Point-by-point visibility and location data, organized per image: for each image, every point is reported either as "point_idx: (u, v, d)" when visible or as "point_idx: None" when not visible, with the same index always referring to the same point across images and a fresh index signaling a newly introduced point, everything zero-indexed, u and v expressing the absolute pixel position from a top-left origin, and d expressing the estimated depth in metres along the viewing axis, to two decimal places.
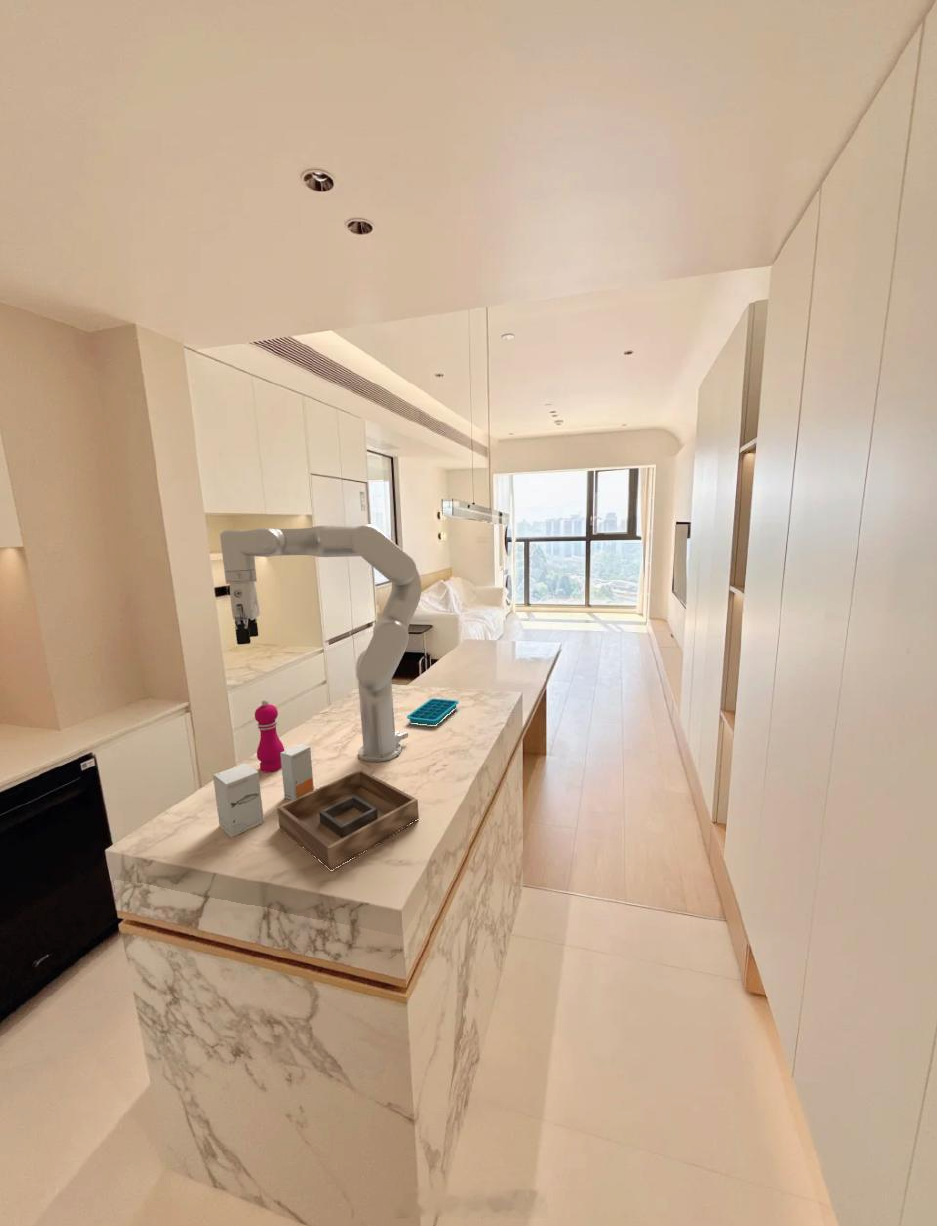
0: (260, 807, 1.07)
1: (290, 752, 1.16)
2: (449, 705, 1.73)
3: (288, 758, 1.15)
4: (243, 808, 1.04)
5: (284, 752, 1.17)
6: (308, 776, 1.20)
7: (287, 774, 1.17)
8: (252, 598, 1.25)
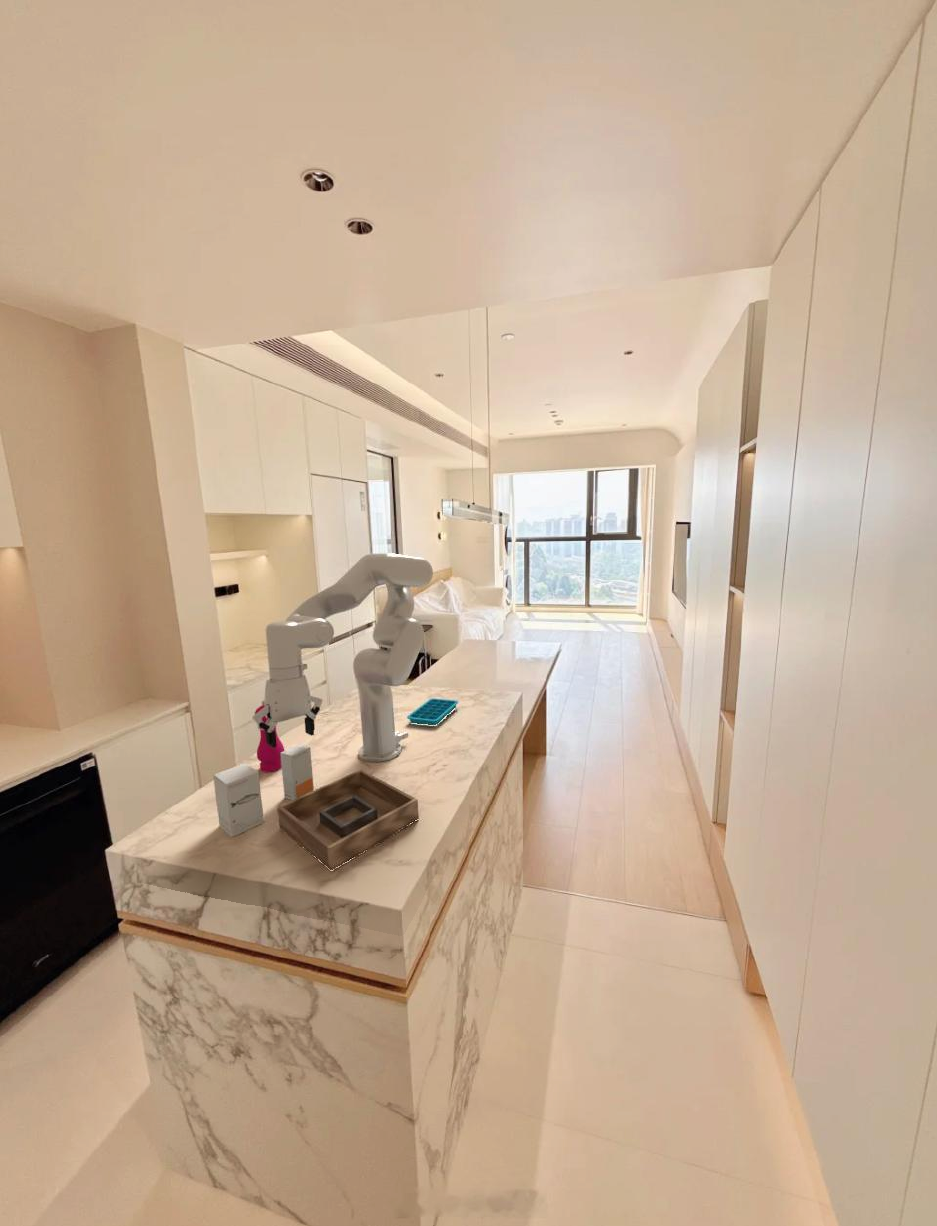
0: (260, 807, 1.07)
1: (290, 752, 1.16)
2: (449, 705, 1.73)
3: (288, 758, 1.15)
4: (243, 808, 1.04)
5: (284, 752, 1.17)
6: (308, 776, 1.20)
7: (287, 774, 1.17)
8: None
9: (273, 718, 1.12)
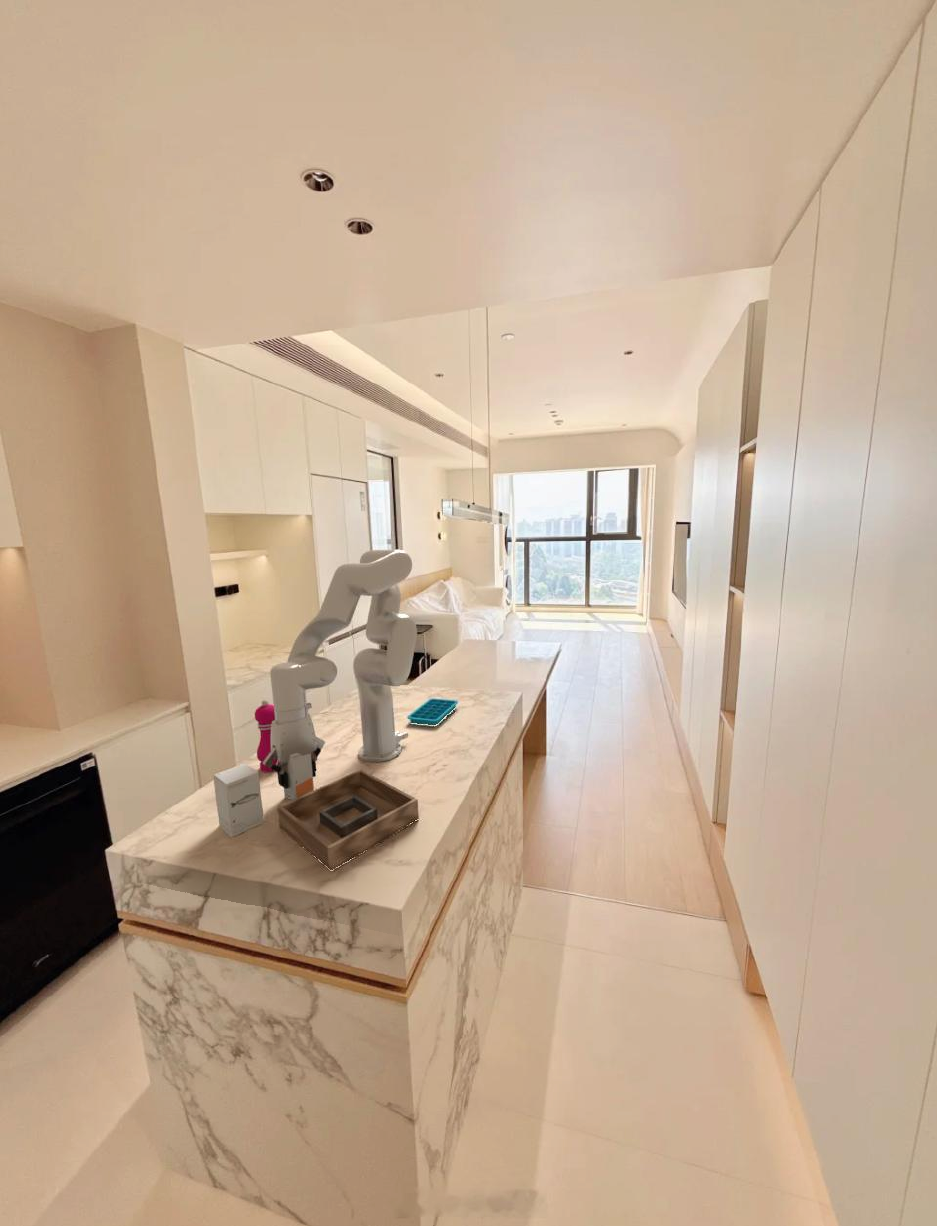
0: (260, 807, 1.07)
1: None
2: (449, 705, 1.73)
3: None
4: (243, 808, 1.04)
5: None
6: (308, 775, 1.20)
7: (287, 774, 1.17)
8: None
9: (279, 759, 1.14)
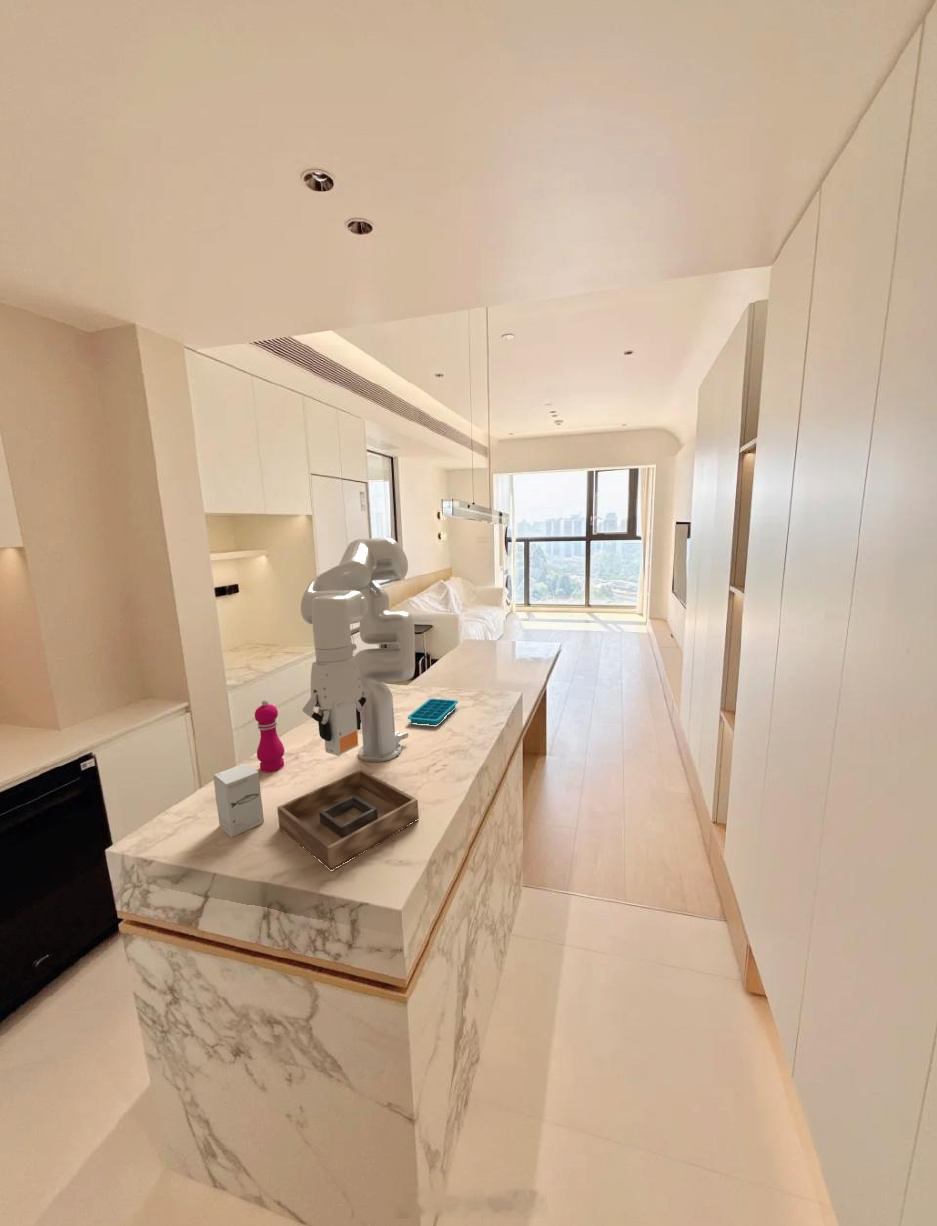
0: (260, 807, 1.07)
1: None
2: (448, 705, 1.73)
3: None
4: (243, 808, 1.04)
5: None
6: (353, 728, 1.03)
7: None
8: None
9: (322, 706, 0.97)
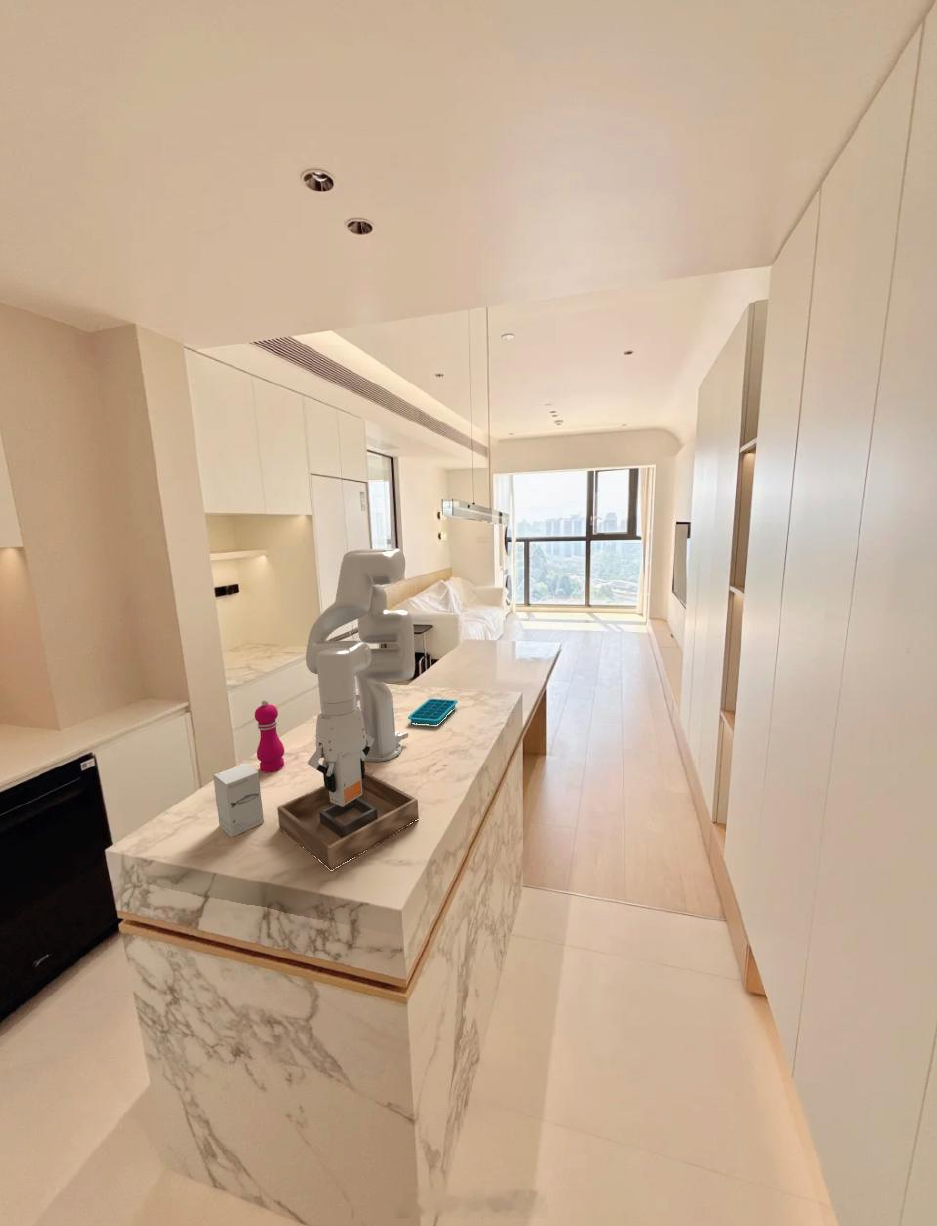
0: (260, 807, 1.07)
1: None
2: (448, 705, 1.73)
3: None
4: (243, 808, 1.04)
5: None
6: (357, 778, 1.05)
7: None
8: None
9: (327, 759, 0.99)
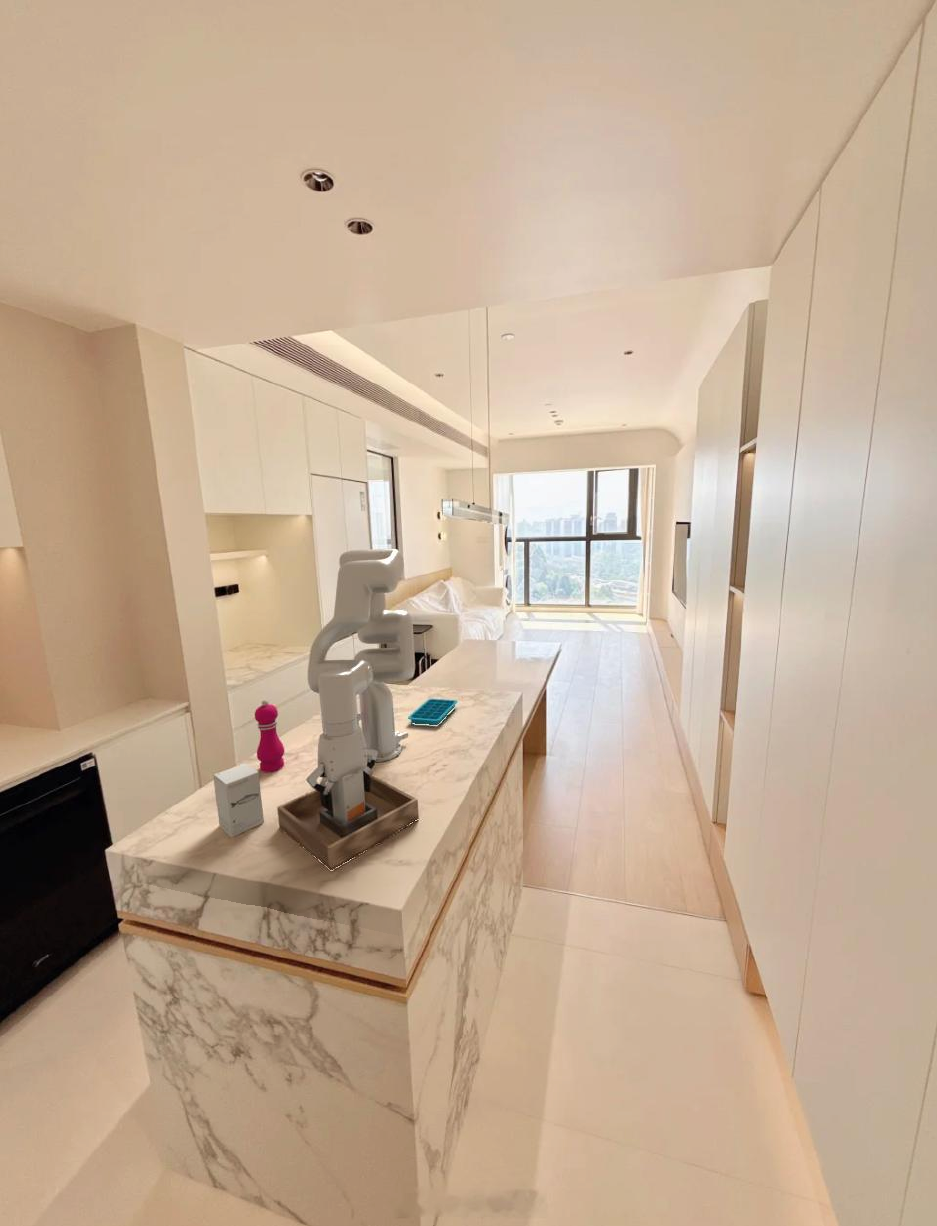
0: (260, 807, 1.07)
1: None
2: (448, 705, 1.73)
3: (339, 780, 1.02)
4: (243, 808, 1.04)
5: None
6: (360, 799, 1.06)
7: (337, 798, 1.03)
8: None
9: (329, 779, 1.00)
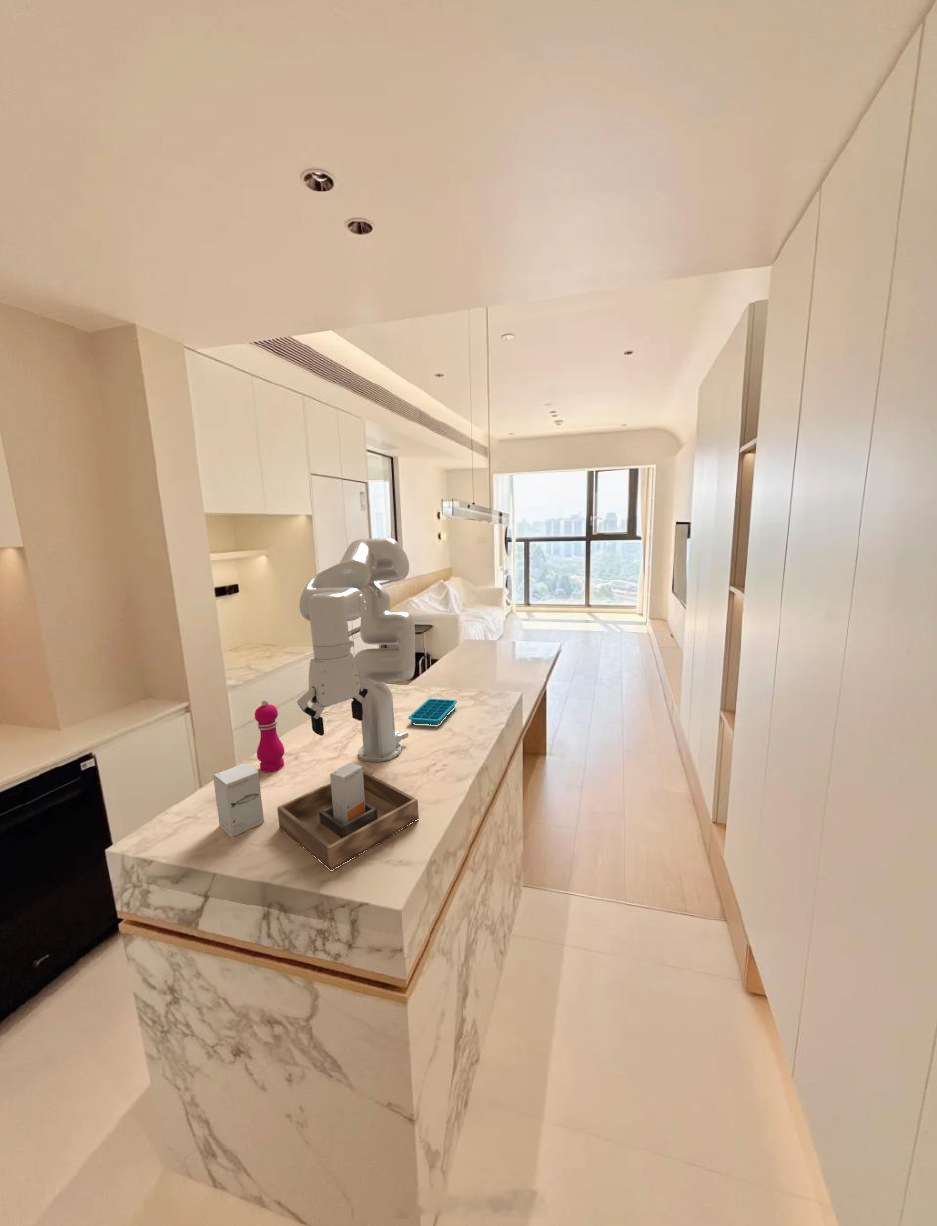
0: (260, 807, 1.07)
1: (342, 773, 1.03)
2: (448, 705, 1.73)
3: (339, 780, 1.02)
4: (243, 808, 1.04)
5: (334, 773, 1.04)
6: (360, 799, 1.06)
7: (337, 798, 1.03)
8: None
9: (320, 702, 0.98)
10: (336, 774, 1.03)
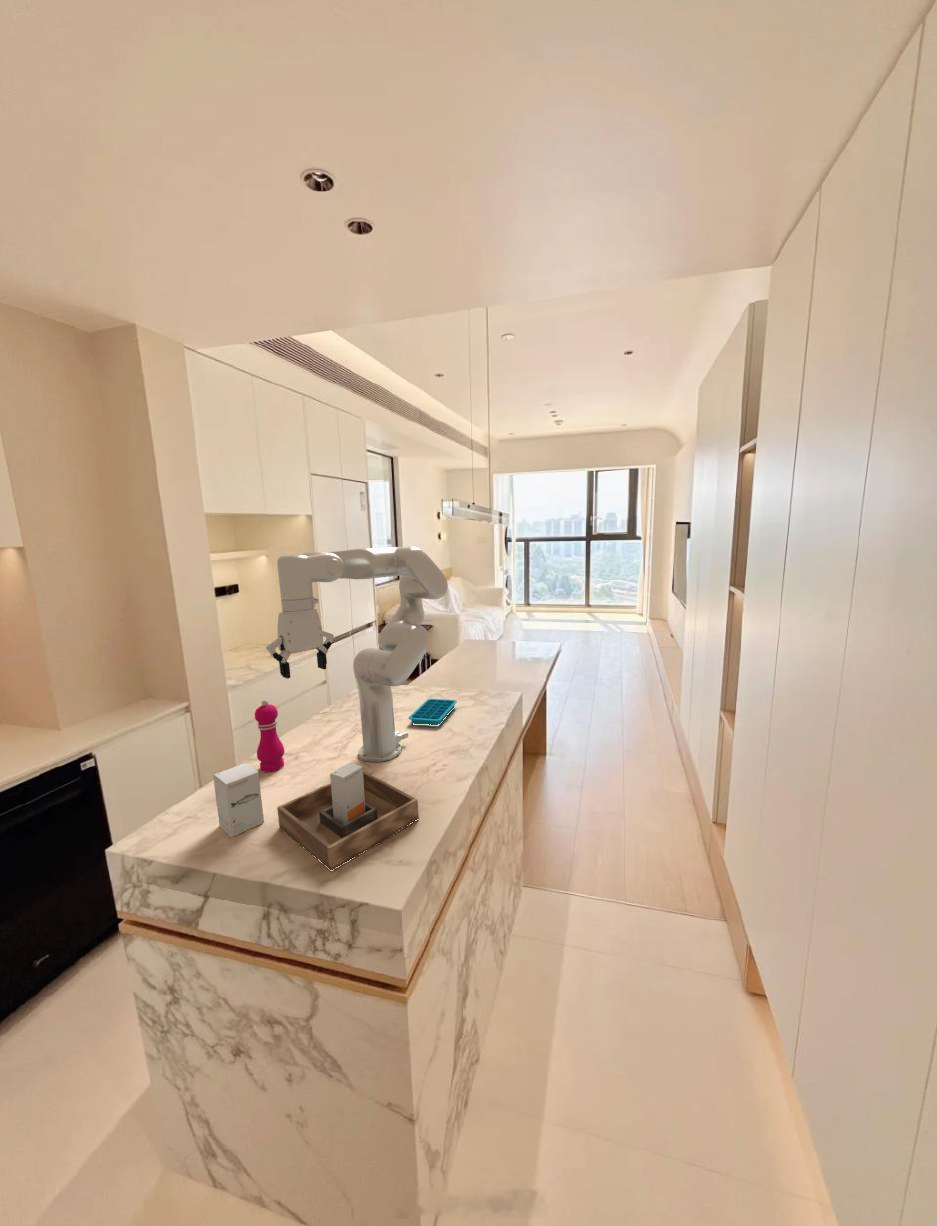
0: (260, 807, 1.07)
1: (342, 773, 1.03)
2: (448, 705, 1.73)
3: (339, 780, 1.02)
4: (243, 808, 1.04)
5: (334, 773, 1.04)
6: (360, 799, 1.06)
7: (337, 798, 1.03)
8: None
9: (286, 649, 1.14)
10: (336, 774, 1.03)
